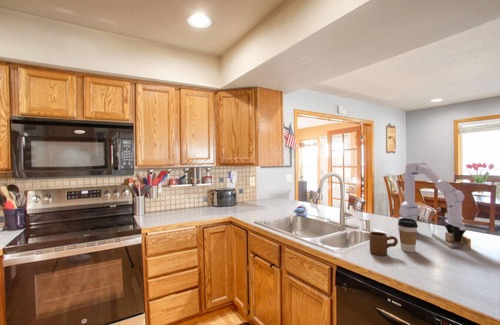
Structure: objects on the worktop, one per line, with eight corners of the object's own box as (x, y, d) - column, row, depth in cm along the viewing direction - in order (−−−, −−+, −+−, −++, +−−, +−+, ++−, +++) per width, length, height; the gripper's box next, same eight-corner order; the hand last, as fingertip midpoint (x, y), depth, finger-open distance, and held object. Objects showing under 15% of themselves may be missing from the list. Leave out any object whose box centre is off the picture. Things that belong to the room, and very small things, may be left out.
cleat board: (449, 247, 122) (449, 238, 122) (431, 236, 140) (431, 227, 140) (470, 249, 119) (470, 239, 119) (450, 237, 138) (450, 228, 138)
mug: (397, 253, 116) (397, 233, 116) (398, 259, 109) (398, 238, 109) (369, 249, 122) (369, 230, 122) (369, 254, 115) (369, 235, 115)
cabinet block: (450, 246, 123) (449, 233, 123) (445, 243, 128) (445, 231, 128) (462, 247, 122) (462, 234, 122) (457, 244, 126) (457, 231, 126)
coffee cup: (416, 248, 122) (415, 218, 122) (420, 254, 114) (419, 223, 114) (397, 246, 126) (396, 217, 125) (399, 251, 118) (399, 221, 118)
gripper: (472, 217, 117) (472, 245, 117) (455, 211, 131) (456, 236, 131) (455, 217, 118) (455, 244, 119) (440, 210, 132) (440, 235, 133)
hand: (454, 240), depth 125 cm, fingers closed on cabinet block, 4 cm apart
